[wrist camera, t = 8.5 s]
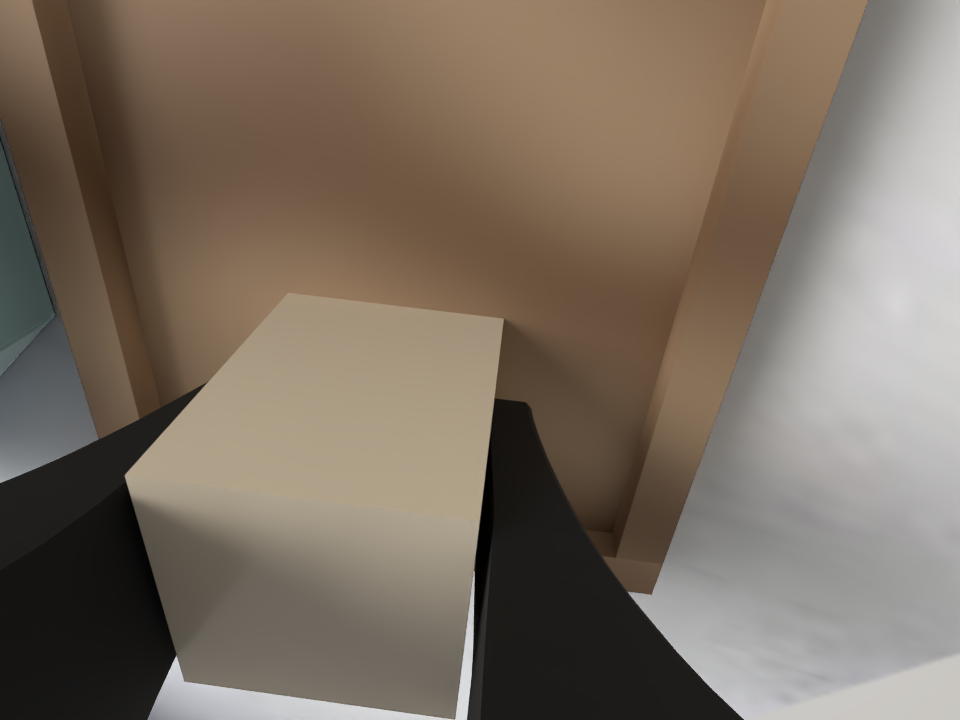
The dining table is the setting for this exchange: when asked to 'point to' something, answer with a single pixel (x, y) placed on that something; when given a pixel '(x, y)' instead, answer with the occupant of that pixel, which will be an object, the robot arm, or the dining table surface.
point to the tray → (432, 198)
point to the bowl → (18, 277)
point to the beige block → (327, 505)
